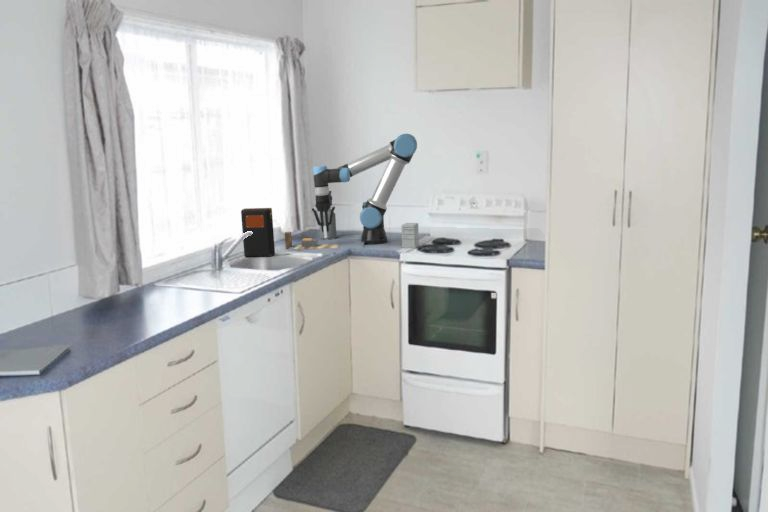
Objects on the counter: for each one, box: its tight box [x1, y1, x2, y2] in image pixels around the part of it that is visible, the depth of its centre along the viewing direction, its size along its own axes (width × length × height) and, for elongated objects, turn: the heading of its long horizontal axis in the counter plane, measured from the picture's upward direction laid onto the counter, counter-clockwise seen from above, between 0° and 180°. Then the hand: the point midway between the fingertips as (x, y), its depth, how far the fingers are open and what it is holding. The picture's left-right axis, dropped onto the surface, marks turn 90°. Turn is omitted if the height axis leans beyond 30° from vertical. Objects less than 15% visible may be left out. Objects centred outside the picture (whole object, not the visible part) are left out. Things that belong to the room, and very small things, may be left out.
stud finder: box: [301, 237, 319, 247], centre depth 378 cm, size 8×4×4 cm, turn 86°
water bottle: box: [316, 190, 337, 240], centre depth 406 cm, size 10×10×28 cm
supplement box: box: [401, 222, 420, 249], centre depth 369 cm, size 7×7×13 cm
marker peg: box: [284, 232, 293, 250], centre depth 378 cm, size 3×3×9 cm
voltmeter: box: [240, 207, 276, 258], centre depth 359 cm, size 16×9×25 cm, turn 84°
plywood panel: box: [293, 243, 341, 250], centre depth 375 cm, size 24×12×1 cm, turn 86°
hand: (326, 237), depth 377 cm, fingers closed
